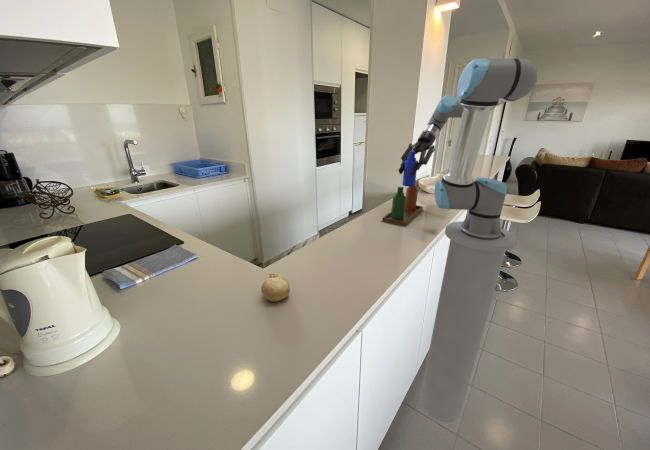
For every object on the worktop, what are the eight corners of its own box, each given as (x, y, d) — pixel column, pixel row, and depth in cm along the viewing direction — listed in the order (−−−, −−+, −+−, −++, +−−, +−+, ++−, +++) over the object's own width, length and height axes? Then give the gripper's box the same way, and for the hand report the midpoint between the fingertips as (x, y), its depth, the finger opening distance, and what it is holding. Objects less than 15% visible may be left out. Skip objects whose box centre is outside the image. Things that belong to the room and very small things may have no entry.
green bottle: (404, 219, 137) (408, 186, 131) (400, 223, 132) (404, 189, 126) (393, 217, 140) (396, 185, 134) (389, 220, 136) (392, 187, 129)
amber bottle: (416, 209, 153) (420, 179, 147) (413, 211, 148) (417, 181, 142) (406, 207, 156) (409, 178, 150) (402, 209, 151) (406, 180, 145)
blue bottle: (416, 184, 139) (420, 151, 133) (412, 187, 134) (417, 152, 128) (404, 183, 142) (408, 150, 136) (400, 185, 137) (404, 151, 131)
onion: (294, 291, 81) (293, 270, 79) (283, 308, 74) (281, 285, 72) (269, 286, 83) (268, 266, 81) (256, 302, 76) (254, 280, 74)
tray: (422, 210, 153) (423, 206, 152) (405, 226, 130) (405, 222, 129) (402, 206, 159) (402, 203, 158) (382, 221, 136) (382, 217, 135)
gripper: (448, 143, 134) (425, 181, 130) (413, 140, 147) (392, 175, 143) (445, 132, 128) (421, 171, 124) (409, 130, 142) (386, 165, 138)
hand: (405, 173), depth 134 cm, fingers closed on blue bottle, 6 cm apart
